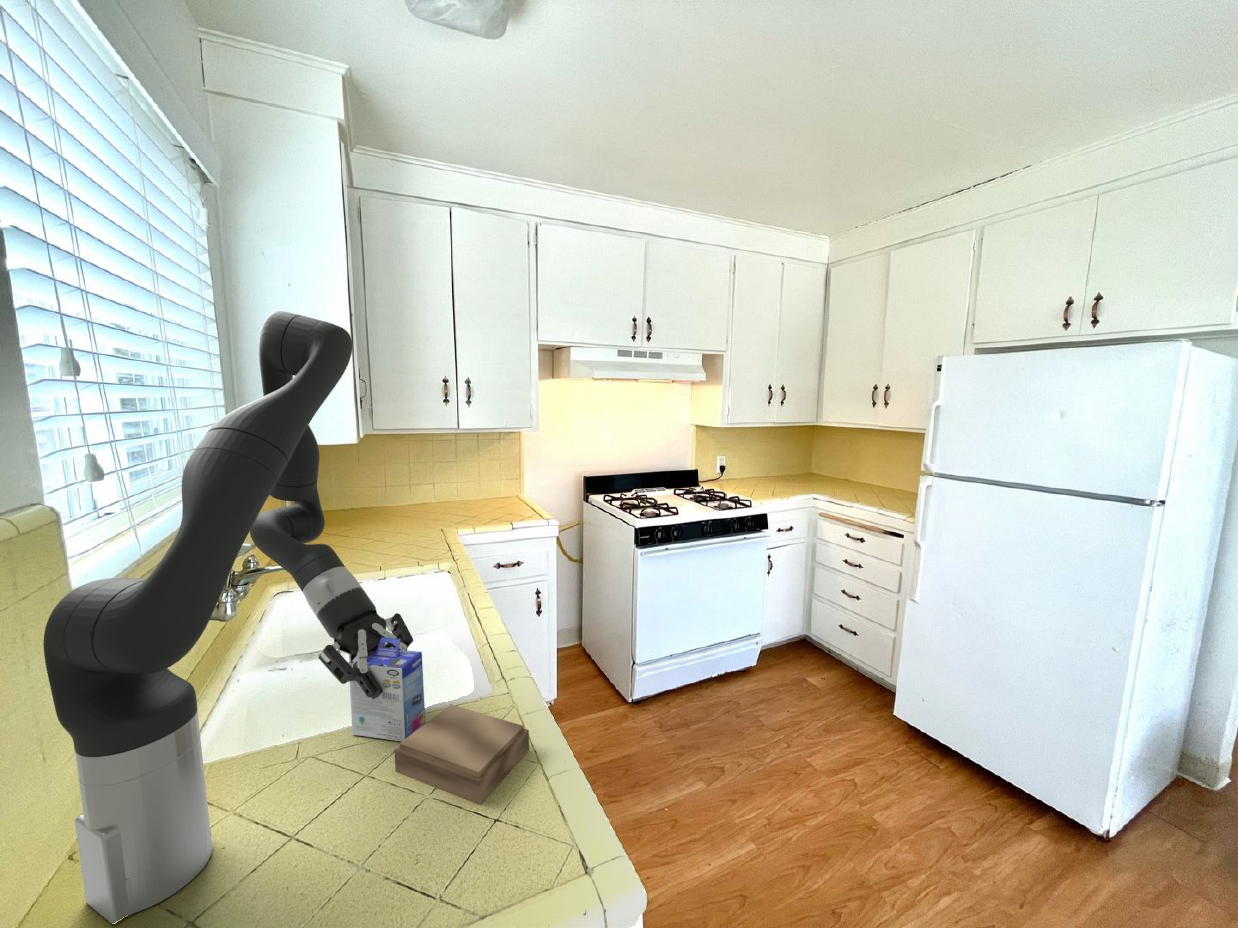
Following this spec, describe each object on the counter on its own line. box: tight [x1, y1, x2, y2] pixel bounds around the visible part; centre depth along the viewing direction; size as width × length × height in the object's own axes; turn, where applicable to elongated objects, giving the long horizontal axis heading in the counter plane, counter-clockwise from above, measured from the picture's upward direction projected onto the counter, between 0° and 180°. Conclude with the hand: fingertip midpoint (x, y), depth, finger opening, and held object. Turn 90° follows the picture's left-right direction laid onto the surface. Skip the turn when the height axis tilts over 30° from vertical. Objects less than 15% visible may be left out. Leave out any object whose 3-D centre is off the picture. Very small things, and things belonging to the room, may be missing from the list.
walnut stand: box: [393, 704, 530, 805], centre depth 69 cm, size 11×15×4 cm
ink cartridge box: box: [348, 637, 426, 742], centre depth 76 cm, size 10×6×14 cm, turn 79°
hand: (396, 684), depth 75 cm, fingers closed on ink cartridge box, 6 cm apart
